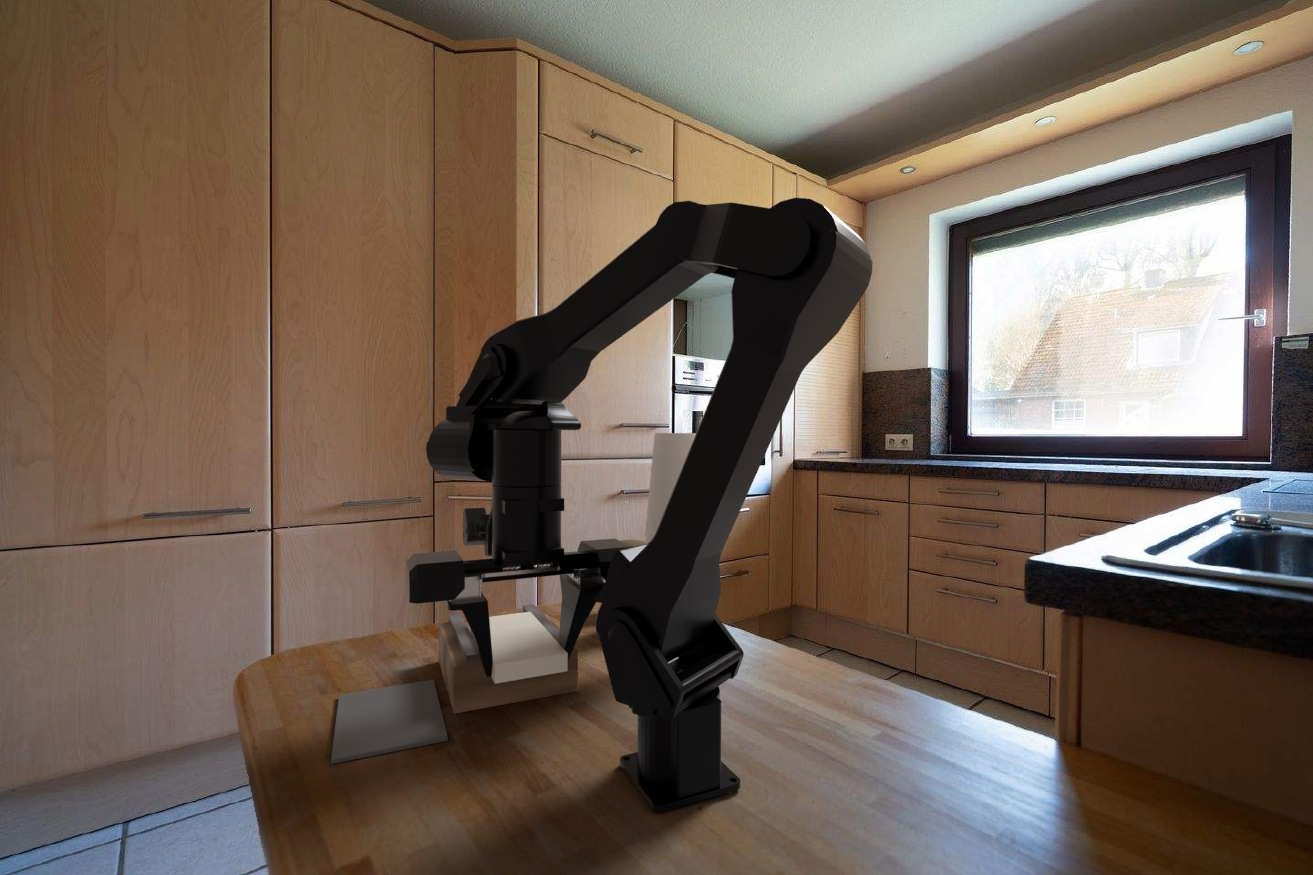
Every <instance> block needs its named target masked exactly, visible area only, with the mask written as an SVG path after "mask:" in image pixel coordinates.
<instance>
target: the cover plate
mask: <svg viewBox="0 0 1313 875" xmlns="http://www.w3.org/2000/svg"><path fill="white" fill-rule="evenodd" d="M489 621H490V633H491V644H492V656H493V664H492V676H491V677H492V679H493V681H494V683H495V684H496V683H502V682H508V681H513V680H519V679H525V678H531V677H537V676H543V675H549V674H554V673H560V672H566V671H568V653H567V652H566V651H565V650H564V649H563V648H562V647H561V646H560V645H559V643H558V642H557V641H556V640H555V639H554V638H553V636H552V635H551V634H550V633H549V632H548V631H547V630H546V629H545V627H544V626H543V625H542V624H541V623H540V622H539V621H538V620H537V618H536V617H535V616H534V615H533V614H532V613H531V612H524V613H523V612H517V613H509V614H501V615H500V614H499V615H493V616H489ZM470 633H471V635H472V632H471V629H470ZM472 637H473V635H472ZM473 639H474V638H473Z"/></svg>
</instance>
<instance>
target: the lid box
mask: <svg viewBox="0 0 1313 875" xmlns="http://www.w3.org/2000/svg"><path fill="white" fill-rule="evenodd" d="M524 612H531V613H532V614H533V615H534V616H535V617H536V618H537V620H538V621H539V622H540V623H541V624H542V625H543V626H544V627H545V629H546V630H547V631H548V632H549V633H550V634H551V635H552V636H553V638H554V639H555V640H556V641H557V642H558V643H559V630H560V626H558V625H557V624H556V623H555V622H554V621H553V620H552V618H550V617H549V616H548V615H547V614H546V613H545V612H544V611H543V610H539V608H538V607H537V606H535V604H534V603H533V604H526V605H522V613H524ZM438 664H439V667H440V671H441V673H442V677H443V680H444V683H445V688H446V692H447V695H448V698H449V701H450V704H451V708H452V712H453V714H460V713H464V712H465V713H466V712H470V711H477V710H481V709H487V708H492V707H499V706H503V705H508V704H515V703H519V702H524V701H529V700H536V699H541V698H546V697H552V696H558V695H562V694H569V693H574V692H578V691H579V647H577V645H576V644H575V646H574V649H573V651H572V653H571V656H570V658H569V660H568V671H566V672H560V673H554V674H549V675H543V676H537V677H531V678H525V679H519V680H513V681H508V682H502V683H496V684H495V683H494V681H493V679H492V677H487V676H486V674H485V672H484V669H483V666H482V663H481V660H480V657H479V653H478V650H477V647H476V644H475V641H474V639H473V637H472V635H471V633H470V627H469V624H468V622H467V620H466V619H464V617H463V615H462V613H461V612H459V613H450V614H448V621H445V622H439V623H438Z"/></svg>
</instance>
